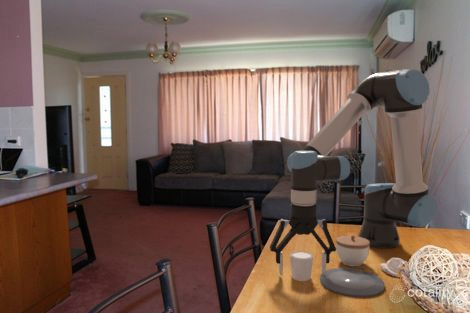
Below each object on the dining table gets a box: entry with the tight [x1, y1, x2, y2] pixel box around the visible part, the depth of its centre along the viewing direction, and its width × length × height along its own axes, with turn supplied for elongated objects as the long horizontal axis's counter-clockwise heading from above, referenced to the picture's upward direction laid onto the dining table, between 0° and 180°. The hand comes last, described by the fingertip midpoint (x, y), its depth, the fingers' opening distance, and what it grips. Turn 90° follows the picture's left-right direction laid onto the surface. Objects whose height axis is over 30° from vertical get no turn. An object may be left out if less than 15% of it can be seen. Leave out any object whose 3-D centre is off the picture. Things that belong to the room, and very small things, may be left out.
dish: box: [319, 267, 385, 298], centre depth 115 cm, size 18×18×1 cm
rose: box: [380, 257, 407, 278], centre depth 124 cm, size 10×4×10 cm
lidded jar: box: [335, 234, 371, 267], centre depth 131 cm, size 11×11×9 cm
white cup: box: [289, 251, 314, 282], centre depth 119 cm, size 7×7×7 cm
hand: (302, 273), depth 119 cm, fingers open, 12 cm apart
